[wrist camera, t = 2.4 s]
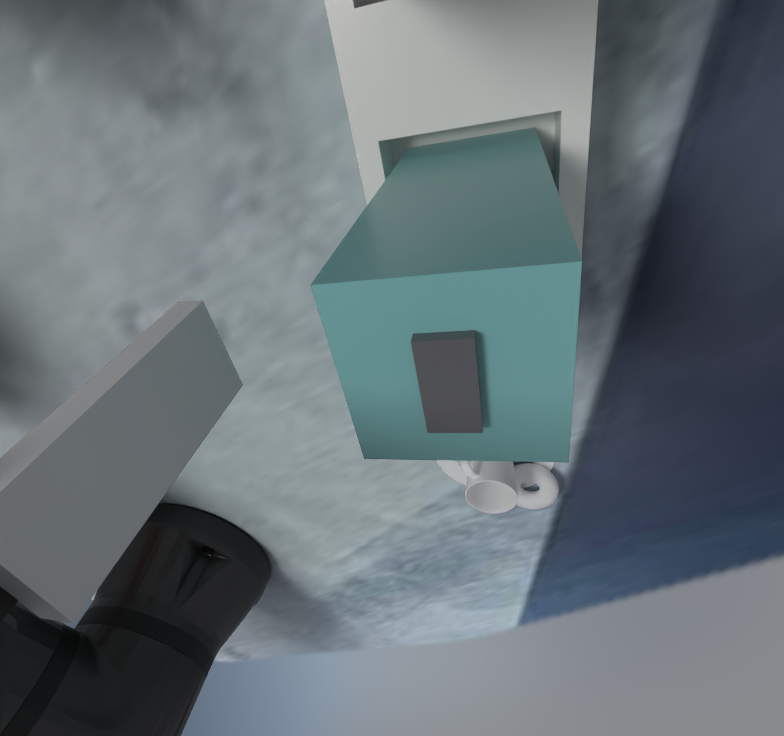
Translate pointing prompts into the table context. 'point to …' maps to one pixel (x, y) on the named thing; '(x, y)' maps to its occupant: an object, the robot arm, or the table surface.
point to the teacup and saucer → (504, 484)
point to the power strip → (468, 80)
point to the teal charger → (458, 307)
